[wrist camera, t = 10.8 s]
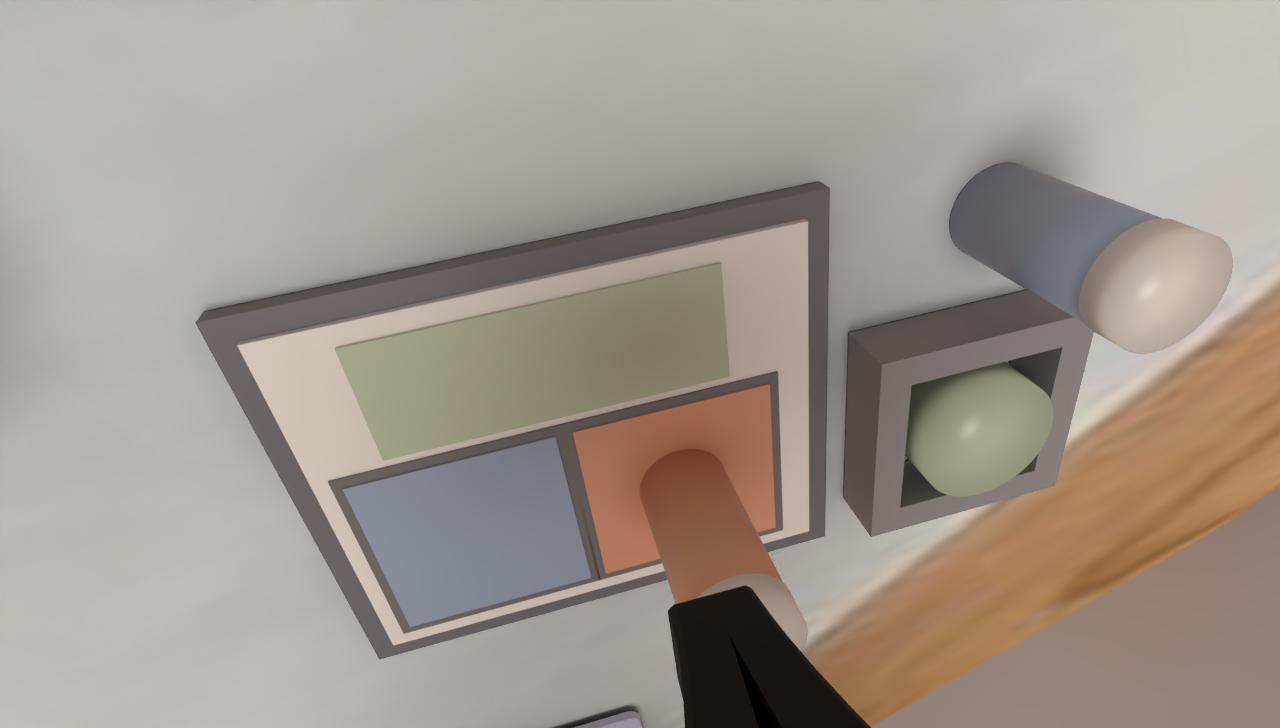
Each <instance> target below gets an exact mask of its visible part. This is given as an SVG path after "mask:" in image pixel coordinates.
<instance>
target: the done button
mask: <svg viewBox="0 0 1280 728" xmlns="http://www.w3.org/2000/svg"><path fill="white" fill-rule="evenodd" d="M1052 424H1053V405H1052V402H1051V400H1050V398H1049V396H1048V395H1047V393H1046V392H1045V391H1044V390H1042V389H1041V388H1040V387H1038V386H1037V385H1036V384H1034V383H1033V382H1032V381H1030V380H1029V379H1028V378H1026V377H1025V376H1024V375H1022V374H1021V373H1020V372H1018V371H1017V370H1016V369H1014V368H1013V367H1012V366H1010V365H1009V364H1008V363H1006V362H1002V363H998V364H994V365H990V366H986V367H982V368H978V369H974V370H970V371H966V372H962V373H958V374H954V375H950V376H946V377H942V378H938V379H934V380H930V381H926V382H922V383H919V384H915V385H911V396H910V407H909V418H908V429H907V439H906V450H905V456H906V457H907V458H908V459H909V460H910V461H911V463H912V464H913V465H914V466H915V467H916V468H917V469H918V470H919V472H920V473H921V474H922V475H923V476H924V477H925V478H926V479H927V481H928V482H929V483H930V484H931V485H932V486H933V487H934V488H935V489H936V490H938V491H939V492H941V493H943V494H946V495H950V496H957V497H965V496H973V495H977V494H981V493H984V492H987V491H990V490H992V489H995V488H997V487H999V486H1001V485H1002V484H1004V483H1006V482H1007V481H1009V480H1011V479H1012V478H1013V477H1015V476H1016V475H1018V474H1019V473H1020V472H1021V471H1022V470H1023V469H1025V468H1026V467H1027V466H1028V465H1029V464H1030V463H1031V462H1032V461H1033V459H1034V458H1035V457H1036V456H1037V455H1038V453H1039V452H1040V450H1041V449H1042V447H1043V446H1044V444H1045V442H1046V440H1047V438H1048V436H1049V434H1050V431H1051V428H1052Z"/></svg>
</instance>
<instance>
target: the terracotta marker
mask: <svg viewBox="0 0 1280 728" xmlns="http://www.w3.org/2000/svg"><path fill="white" fill-rule="evenodd" d="M640 498H641V501H642V504H643V507H644V510H645V513H646V516H647V519H648V522H649V525H650V528H651V531H652V534H653V537H654V540H655V543H656V546H657V549H658V552H659V555H660V558H661V561H662V564H663V567H664V570H665V573H666V576H667V579H668V582H669V585H670V588H671V591H672V594H673V597H674V600H675V603H676V604H678V603H682V602H685V601H689V600H693V599H696V598H700V597H704V596H707V595H711V594H715V593H718V592H722V591H726V590H730V589H733V588H737V587H741V586H744V585H746V586H748V587H750V588H752V589H753V590H754V592H755V593H756V595H757V596H758V598H759V599H760V600H761V602H762V603H763V605H764V606H765V607H766V609H767V610H768V611H769V613H770V614H771V615H772V617H773V618H774V619H775V620H776V622H777V623H778V624H779V626H780V627H781V628H782V629H783V631H784V632H785V633H786V634H787V636H788V637H789V638H790V639H791V640H792V642H793V643H794V644H795V645H796V646H797V648H798V649H799V650H800V651H801V650H802V649H803V647H804V645H805V642H806V640H807V635H808V629H807V624H806V622H805V620H804V618H803V616H802V614H801V612H800V610H799V608H798V606H797V604H796V602H795V600H794V598H793V597H792V595H791V593H790V591H789V589H788V587H787V586H786V584H784V583H783V581H782V580H781V578H780V576H779V574H778V572H777V570H776V568H775V566H774V564H773V562H772V560H771V558H770V556H769V554H768V552H767V550H766V548H765V547H764V545H763V543H762V541H761V539H760V537H759V535H758V533H757V531H756V529H755V527H754V525H753V523H752V521H751V519H750V517H749V515H748V514H747V512H746V510H745V508H744V506H743V504H742V502H741V500H740V498H739V496H738V494H737V492H736V490H735V488H734V486H733V484H732V482H731V480H730V479H729V477H728V475H727V473H726V471H725V469H724V467H723V465H722V463H721V462H720V460H719V459H718V458H717V457H715V456H714V455H713V454H711V453H709V452H706V451H703V450H699V449H685V450H679V451H675V452H673V453H670V454H668V455H666V456H664V457H662V458H660V459H659V460H658V461H656V462H655V463H654V464H653V465H652V466H651V467H650V468H649V469H648V470H647V472H646V473H645V475H644V477H643V479H642V481H641V484H640Z"/></svg>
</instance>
